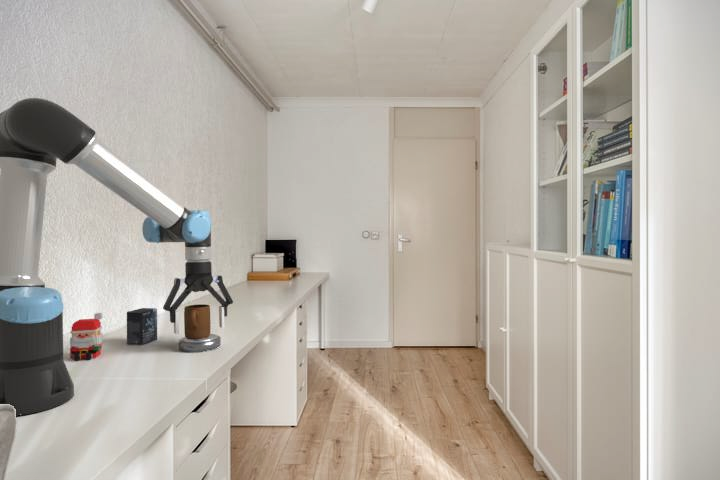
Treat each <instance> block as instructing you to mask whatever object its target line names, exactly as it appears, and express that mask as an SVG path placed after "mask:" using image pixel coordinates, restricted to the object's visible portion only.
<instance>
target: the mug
mask: <svg viewBox="0 0 720 480" xmlns="http://www.w3.org/2000/svg"><path fill="white" fill-rule="evenodd" d="M183 309H184V311H183V323H184V337H186V338H188V339H199V338H205V337H208V336H209V335H210V334H211V306H210V305H209V304H191V305H187V306H184V308H183Z"/></svg>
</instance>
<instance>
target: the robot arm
mask: <svg viewBox="0 0 720 480" xmlns="http://www.w3.org/2000/svg"><path fill="white" fill-rule="evenodd" d="M57 159H58V160H60V161H61V162H62V163H64V164H66V165H75V166H76V167H77V168H79V169H80V170H82V171H84V173H86V174H87V175H89V176H90V177H92V178H93V179H95V180H96V181H97V182H99V183H100V184H102V185H103V186H104V187H106V188H107V189H109V190H110V191H111V192H113V193H114V194H116V195H117V196H118V197H119V198H121V199H123V200H124V201H126V202H127V203H129V205H131V206H132V207H134V208H136V209H137V210H138V211H140V212H141V213H143V214H144V215H145V216H146V217H145V218H144V220H143V222H142V228H141V229H142V236H143V238H144V240H145V241H146V242H148V243H153V244H155V243H156V244H160V243H184V255H185V256H184V258H185V261H186V262H185V266H184V267H185V268H184V269H185V277H184V278H179V277H175V278H174V280H173V286H172V288H171V290H170V292H169V294H168V297H167V298H166V300H165V302H164V304H163V306H162V309H163V310H164V311H165V312H166V311H167V312H169V321H170V323H171V324H173V333H174V334H175V335H179V334H180V332H179V330H180V329H179V328H180V327H179V326H180V325H179V311H178V310H177V309H178V308H179V307H180V306H181V305H182V303H183V302H184V301H185V300H186V299H187V297H188V296H189V295H190V294H191V293H192V292H193V293H197V292H206V291H208V292H209V294H211V295H212V297H214V299H216V301H217V302H218V303H219V304H220V305H219V306H218V320H219V321H218V323H219V328H220V329H221V328H222V329H225V317H227V316H228V307H229V306H230V305H232V304H233V303H234V300H233V298H232V296H231V295H230V293H229V291H228V289H227V287H226V286H225V284H224V280H223V276H222V275H219V274H217V275H216V276H215V275H214V276H213V275H212V274H213V273H212V272H213V271H212V270H213V269H212V266H213V265H212V262H211V261H210V260H211V259H212V229H211V228H212V221H211V213H210V212H209V211H207V210H197V209H196V210H195V209H194V210H192V209H191V210H189V209H188V208H186V207H185V206H183V204H181V203H180V202H179V201H177V200H176V199H175V198H174V197H172V196H171V195H170V194H168V193H167V192H165V191H164V190H163V189H162V188H161V187H160V186H158V185H157V184H156V183H154V182H153V181H152V180H150V179H149V178H148V177H147V176H146V175H145V174H143V173H141V171H139V170H138V169H137V168H136V167H134V166H133V165H132V164H130V163H129V162H127V161H126V160H125V159H123V158H122V157H121V156H120V155H118V154H117V153H116V152H115V151H113V150H112V149H111V148H109V147H108V146H107V145H106V144H105V143H103V142H102V141H101V140H99V138H98V133H97V132H96V131H95V130H94V129H93V128H92V127H90V126H89V125H88V124H86V122H84V121H82V120H81V119H80V118H78V117H77V116H76V115H74V114H73V113H72V112H70V111H69V110H67V109H66V108H64V107H63V106H61V105H59V104H58V103H55V102H54V101H50V100H48V99H44V98H39V97H29V98H24V99H22V100H18V101H17V102H15V103H14V104H12V105H11V106H10V107H9V108H7V109H5V110H4V111H2V112H0V404H10V405H12V406H14V408H15V409H16V416H15V417H18V415H20V414H26V415H30V413H31V414H35V412H36V413H39V412H43V411H47V410H51V409H53V408H56V407H59V406H61V405H63V404H65V403H68V402H69V401H70V400H71V399H73V397H74V396H75V386H74V385H75V384H74V382H73V379H72V378H71V374H70V373H69V370H68V368H67V366H66V363H65V361H64V325H63V324H64V323H63V322H64V320H63V319H64V317H63V316H64V314H63V313H64V312H63V311H64V303H63V298H62V297H63V296H62V294H61V293H60V292H59V290H58V289H54V288H51V287H46V283H45V281H44V280H43V279H41V278H40V276H39V266H40V257H41V246H42V236H43V234H42V233H43V225H44V224H43V223H44V214H45V213H44V212H45V204H46V192H47V181H48V180H47V179H48V175H50V173H52V172H53V171H55V170H56V168H57ZM213 282H214V283H216V284H217V286H218V288H219V291H220V292H221V294H222V295H223V297H224V298H223V297H222V296H221V295H220V294H219V293H218V292H217V291H216V289H214V287H213V286H212V283H213ZM183 283H184V284H185V285H186V286H185V288H184V289H183V291H182V292H181V294H180V295H179V296H178V297H177V298H176V296H177V293H178V292H179V290H180V287H181V286H183ZM175 298H176V300H175ZM174 300H175V301H174ZM58 405H59V406H58ZM55 406H56V407H55ZM20 416H21V415H20Z"/></svg>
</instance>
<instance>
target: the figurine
mask: <svg viewBox="0 0 720 480" xmlns="http://www.w3.org/2000/svg"><path fill="white" fill-rule="evenodd" d="M93 316H94V317H93V318H84V319H78V320H76V321H75V322H73V323H72V326H71V330H70V334H71V337H70V339H69V342H70V343H69V351H70V353H69V356H70V359H72V360H74V362H78V361H81V360H86V361H88V360H89V361H90V360H93V359H96V358H97V357H99V355H101V353H102V351H101V350H102V347H103V344H102V343H103V332H102V331H101V330H102V329H103V326H102V325H101V324H102V323H101V320H102V319H103V312H95V313H94V315H93Z"/></svg>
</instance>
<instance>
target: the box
mask: <svg viewBox="0 0 720 480" xmlns="http://www.w3.org/2000/svg"><path fill="white" fill-rule="evenodd" d="M157 340H158V308H156V307H155V308H153V307H151V308H150V307H141V308H137V309H134V310H130V311H129V310H128V311H126V345H132V346H143V345H145V344H147V343H150V342H154V341H157Z"/></svg>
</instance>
